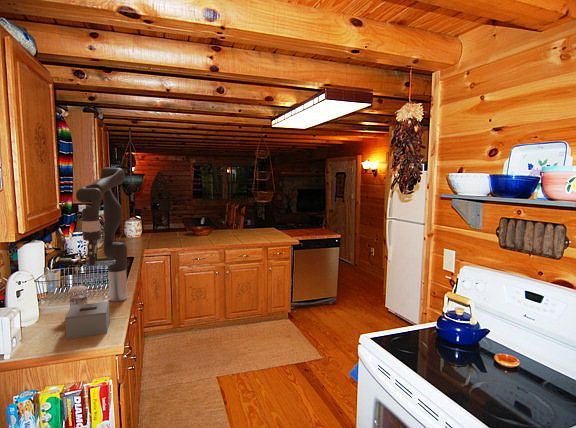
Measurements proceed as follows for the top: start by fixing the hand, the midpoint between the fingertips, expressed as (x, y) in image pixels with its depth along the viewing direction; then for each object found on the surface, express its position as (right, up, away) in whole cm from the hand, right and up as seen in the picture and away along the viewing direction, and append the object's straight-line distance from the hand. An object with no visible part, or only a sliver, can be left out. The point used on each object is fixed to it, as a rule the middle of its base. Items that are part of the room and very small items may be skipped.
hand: (93, 262), depth 168 cm
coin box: (+1, -31, -5) cm, 31 cm away
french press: (-13, -29, +10) cm, 33 cm away
